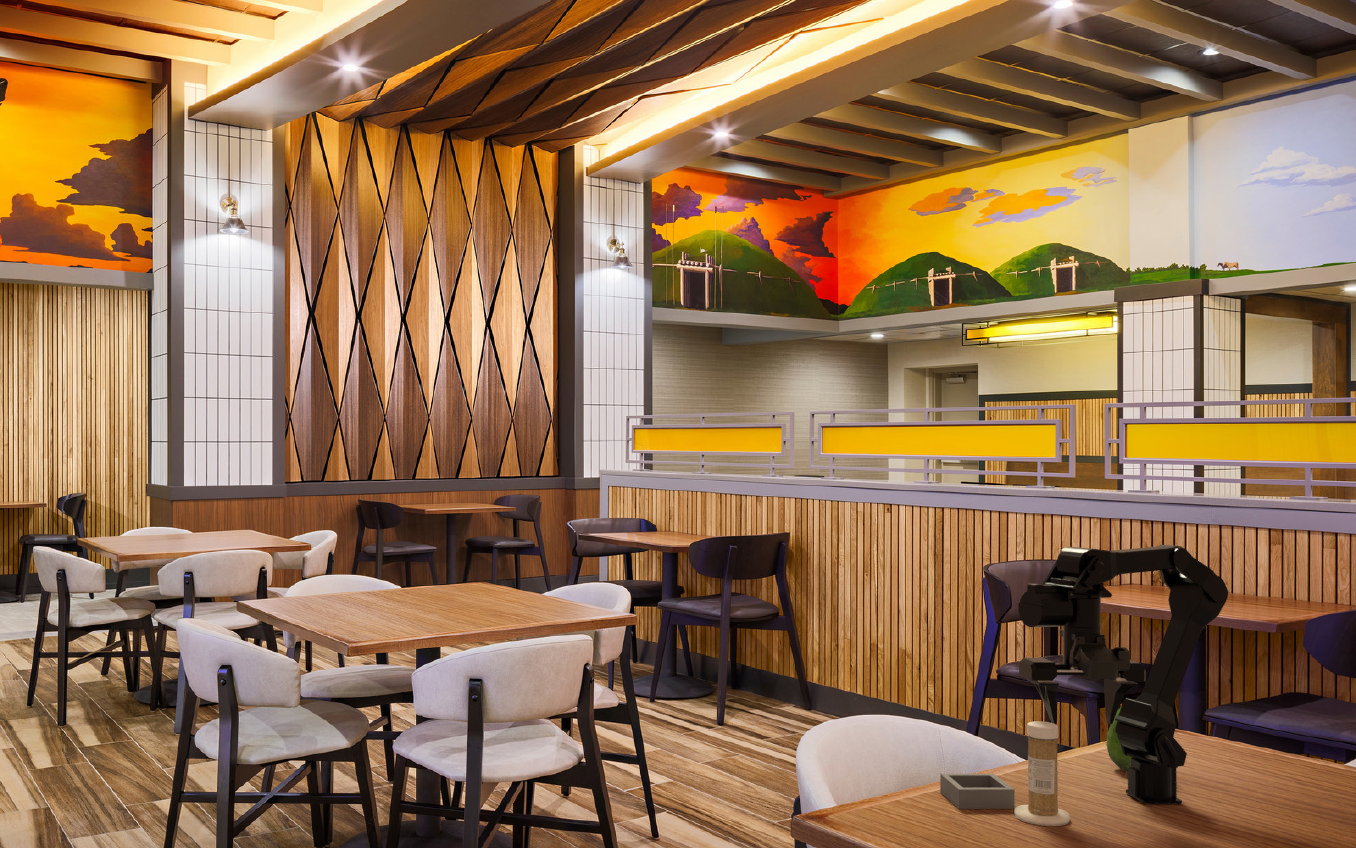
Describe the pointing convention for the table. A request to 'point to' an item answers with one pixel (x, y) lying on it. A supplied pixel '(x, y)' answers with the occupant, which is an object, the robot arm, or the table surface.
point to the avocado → (1116, 748)
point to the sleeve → (977, 791)
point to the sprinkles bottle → (1042, 768)
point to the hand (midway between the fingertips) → (1081, 724)
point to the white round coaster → (1041, 817)
